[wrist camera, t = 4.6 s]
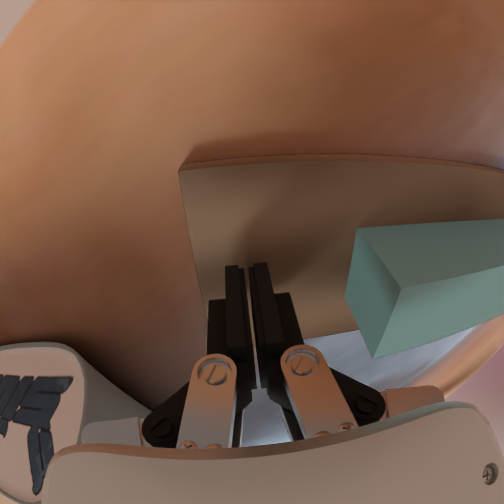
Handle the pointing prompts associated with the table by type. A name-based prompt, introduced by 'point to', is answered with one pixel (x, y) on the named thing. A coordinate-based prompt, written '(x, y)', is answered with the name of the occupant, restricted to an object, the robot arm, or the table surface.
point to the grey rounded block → (49, 411)
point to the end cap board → (318, 219)
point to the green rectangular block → (424, 281)
